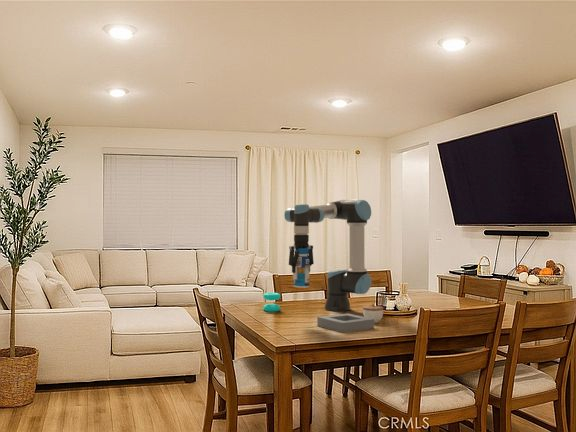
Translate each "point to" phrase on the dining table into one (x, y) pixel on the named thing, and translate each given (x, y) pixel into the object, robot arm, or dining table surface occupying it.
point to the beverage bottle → (302, 269)
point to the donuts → (271, 306)
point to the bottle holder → (345, 322)
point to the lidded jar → (373, 312)
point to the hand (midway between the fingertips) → (301, 278)
